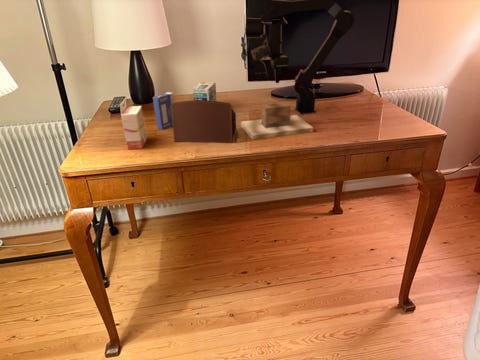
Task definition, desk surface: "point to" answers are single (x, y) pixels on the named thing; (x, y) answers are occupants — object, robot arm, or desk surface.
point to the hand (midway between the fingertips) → (272, 80)
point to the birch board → (276, 128)
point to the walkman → (163, 110)
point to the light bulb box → (205, 91)
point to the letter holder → (203, 121)
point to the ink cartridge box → (133, 125)
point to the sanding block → (275, 114)
